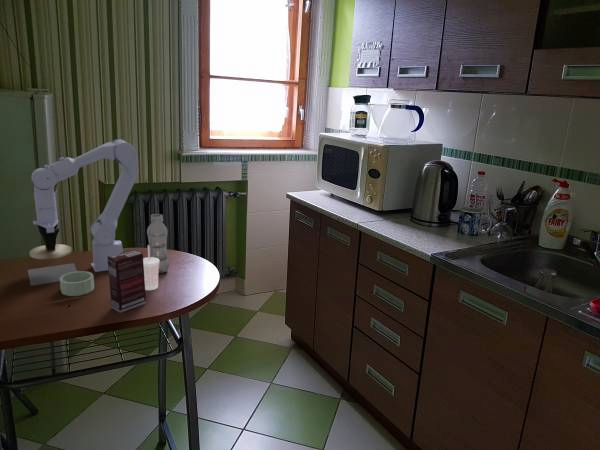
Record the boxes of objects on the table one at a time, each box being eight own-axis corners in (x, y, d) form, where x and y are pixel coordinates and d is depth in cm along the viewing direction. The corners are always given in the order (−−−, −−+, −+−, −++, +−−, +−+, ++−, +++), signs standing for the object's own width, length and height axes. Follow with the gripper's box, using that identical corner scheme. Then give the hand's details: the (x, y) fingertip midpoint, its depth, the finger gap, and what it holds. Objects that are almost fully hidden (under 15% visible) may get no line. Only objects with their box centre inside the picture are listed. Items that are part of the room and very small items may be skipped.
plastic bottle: (166, 276, 157) (164, 218, 151) (146, 274, 157) (143, 217, 151) (171, 268, 163) (169, 213, 157) (152, 267, 163) (149, 212, 158)
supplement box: (137, 298, 140) (134, 248, 136) (146, 303, 137) (144, 253, 133) (110, 308, 134) (106, 255, 129) (119, 313, 131) (115, 260, 126)
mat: (73, 264, 163) (73, 263, 163) (80, 278, 152) (80, 277, 152) (27, 271, 155) (27, 269, 155) (30, 286, 144) (30, 285, 144)
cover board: (68, 244, 159) (67, 232, 158) (74, 256, 150) (73, 242, 148) (28, 249, 153) (26, 236, 152) (31, 261, 143) (29, 248, 142)
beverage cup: (160, 282, 152) (158, 241, 148) (160, 290, 146) (159, 248, 142) (140, 284, 150) (138, 242, 146) (140, 292, 145) (137, 249, 140)
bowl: (91, 282, 149) (90, 269, 148) (96, 293, 142) (95, 279, 141) (59, 287, 145) (58, 274, 143) (63, 299, 137) (61, 285, 136)
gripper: (29, 202, 151) (34, 242, 155) (33, 214, 139) (38, 257, 143) (54, 200, 154) (58, 239, 158) (59, 211, 143) (64, 253, 147)
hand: (50, 247), depth 151 cm, fingers closed on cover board, 3 cm apart
